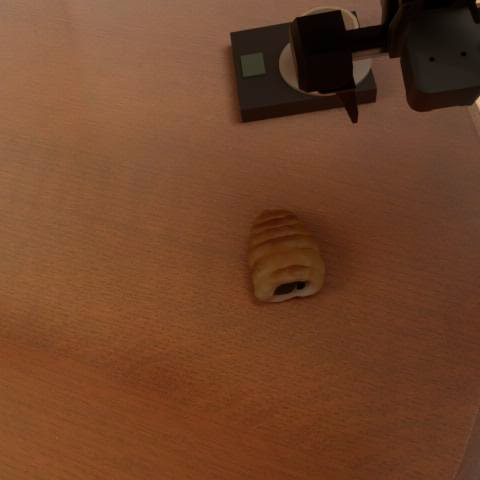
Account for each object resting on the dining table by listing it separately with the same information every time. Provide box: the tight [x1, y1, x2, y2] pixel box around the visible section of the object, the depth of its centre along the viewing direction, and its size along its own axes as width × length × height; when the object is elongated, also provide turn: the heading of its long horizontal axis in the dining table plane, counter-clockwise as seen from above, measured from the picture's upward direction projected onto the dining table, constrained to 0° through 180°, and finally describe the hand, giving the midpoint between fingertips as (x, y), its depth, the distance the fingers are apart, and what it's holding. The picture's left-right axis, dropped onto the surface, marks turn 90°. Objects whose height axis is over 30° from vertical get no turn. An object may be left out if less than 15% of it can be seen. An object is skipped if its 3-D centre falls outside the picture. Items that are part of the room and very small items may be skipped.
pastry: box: [246, 208, 327, 304], centre depth 68 cm, size 9×7×4 cm
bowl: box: [299, 5, 360, 66], centre depth 77 cm, size 6×6×4 cm
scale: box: [229, 10, 378, 123], centre depth 81 cm, size 14×12×2 cm
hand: (410, 110), depth 62 cm, fingers open, 9 cm apart
